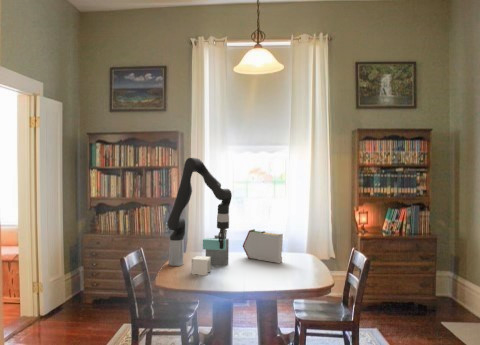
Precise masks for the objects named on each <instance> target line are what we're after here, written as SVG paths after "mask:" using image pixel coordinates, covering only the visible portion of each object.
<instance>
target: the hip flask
mask: <svg viewBox="0 0 480 345" xmlns="http://www.w3.org/2000/svg"><path fill="white" fill-rule="evenodd" d="M213 236H214V237H211V238H212V239H219V235H213ZM229 243H230V242H229V238H226V249H225V250H209V249H205V257H210V266H211V265H212V266H229V247H230V246H229Z"/></svg>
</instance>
